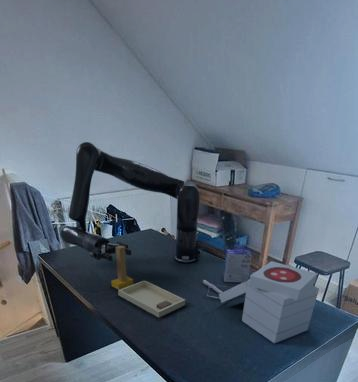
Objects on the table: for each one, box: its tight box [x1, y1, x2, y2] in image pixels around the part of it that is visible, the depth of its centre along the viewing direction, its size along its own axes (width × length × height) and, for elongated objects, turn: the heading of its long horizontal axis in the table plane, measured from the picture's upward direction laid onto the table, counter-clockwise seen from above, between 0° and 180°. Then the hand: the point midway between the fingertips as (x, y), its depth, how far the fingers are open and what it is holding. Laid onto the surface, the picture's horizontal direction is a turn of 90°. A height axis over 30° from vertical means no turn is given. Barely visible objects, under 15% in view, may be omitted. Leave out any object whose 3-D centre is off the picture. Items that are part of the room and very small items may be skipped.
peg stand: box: [111, 246, 134, 291], centre depth 126 cm, size 4×7×16 cm, turn 136°
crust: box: [157, 300, 172, 309], centre depth 116 cm, size 3×4×1 cm, turn 136°
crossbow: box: [202, 279, 232, 299], centre depth 129 cm, size 16×13×2 cm
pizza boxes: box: [218, 260, 320, 344], centre depth 108 cm, size 19×30×18 cm, turn 32°
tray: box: [117, 280, 186, 318], centre depth 120 cm, size 22×13×3 cm, turn 46°
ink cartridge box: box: [223, 244, 253, 284], centre depth 135 cm, size 10×6×14 cm, turn 89°
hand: (121, 255), depth 123 cm, fingers open, 8 cm apart
